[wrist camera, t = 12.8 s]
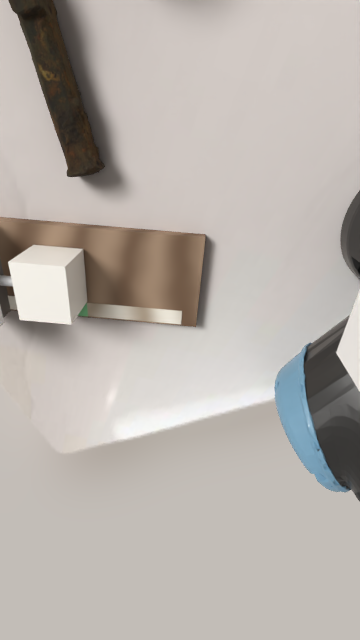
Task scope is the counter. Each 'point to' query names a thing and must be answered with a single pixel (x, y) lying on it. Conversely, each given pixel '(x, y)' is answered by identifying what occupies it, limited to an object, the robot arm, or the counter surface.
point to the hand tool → (58, 85)
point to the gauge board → (118, 268)
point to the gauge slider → (48, 283)
